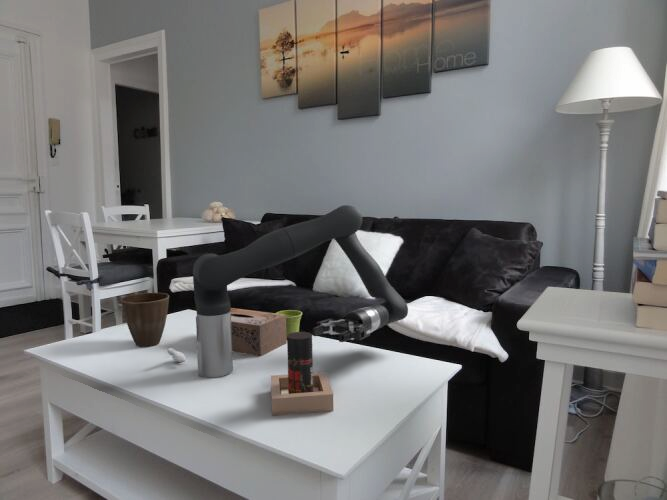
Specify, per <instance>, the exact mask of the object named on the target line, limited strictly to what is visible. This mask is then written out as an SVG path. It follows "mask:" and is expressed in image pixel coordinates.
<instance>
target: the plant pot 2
mask: <svg viewBox="0 0 667 500" xmlns="http://www.w3.org/2000/svg"><path fill="white" fill-rule="evenodd" d="M275 313H276V314H284V315H286V337H287V335H288V334H290V333H294V332H300V322H301V320H302V315H303V312H302V311H300V310H297V309H296V310H295V309H293V310H292V309H287V310H280V311H277V312H275Z"/></svg>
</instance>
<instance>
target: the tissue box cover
mask: <svg viewBox="0 0 667 500" xmlns="http://www.w3.org/2000/svg"><path fill="white" fill-rule="evenodd" d="M276 313H277V312H275V313H274V312H268V311H260V310H250V309H243V308H235V307H231V329H232V353H238V354H245V355H250V356H256V357H263V356H265V355H267V354H269V353H270V352H273V351H274V350H276V349H278V348H280V347H282V346H284V345H287V337H286V315H284V314H276ZM195 323H196V324H195V325H196V327H195V328H196V342H197V341H198V330H197V315H196V316H195Z"/></svg>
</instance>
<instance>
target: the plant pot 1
mask: <svg viewBox="0 0 667 500" xmlns="http://www.w3.org/2000/svg"><path fill="white" fill-rule="evenodd" d="M169 301H170V295H169V293H164V292H143V293H136V294H130V295H126V296H124V297H122V298H121V299H120V302H121V307H122V310H123V315H124V319H125V322H126V325H127V328H128V330H129V333H130V335H131V337H132V340H133V341H134V344H135V346H136V347H139V348H150V347H156V346H157V345H159V344H160V343H161V340H162V337H163V333H164V331H165V326H166V322H167V317H168V312H169V311H168V310H169Z"/></svg>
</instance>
